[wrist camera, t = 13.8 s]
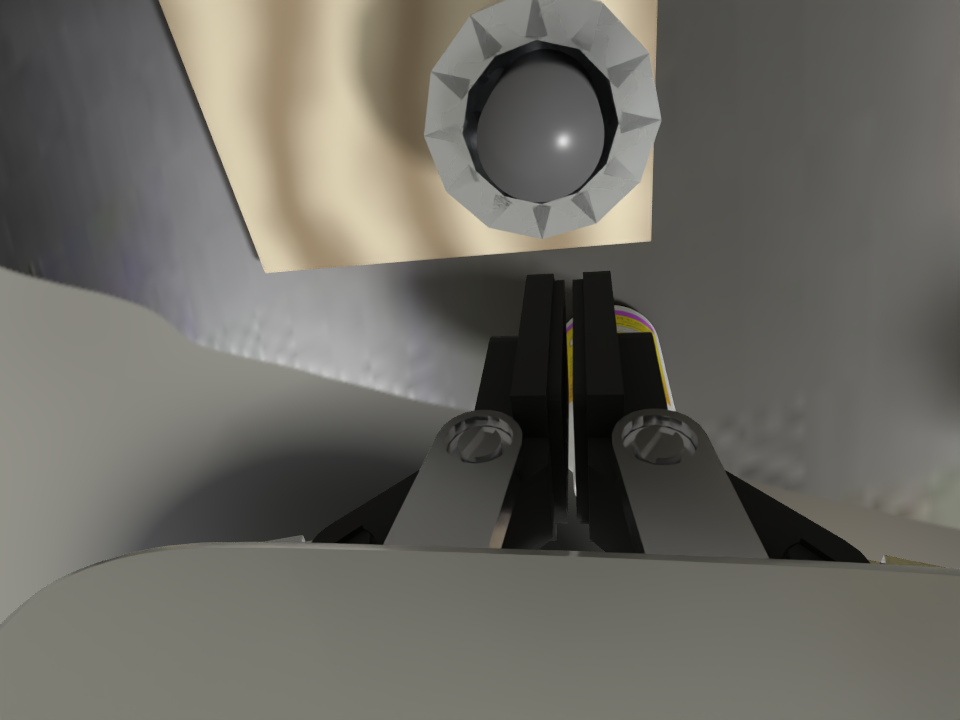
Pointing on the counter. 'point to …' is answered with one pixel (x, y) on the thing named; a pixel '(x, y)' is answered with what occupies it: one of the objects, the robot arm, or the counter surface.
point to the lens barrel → (473, 74)
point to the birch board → (353, 128)
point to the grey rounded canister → (541, 127)
